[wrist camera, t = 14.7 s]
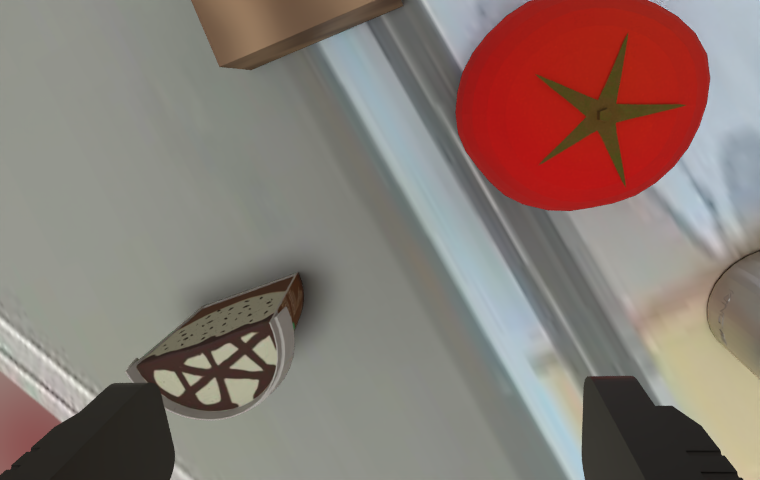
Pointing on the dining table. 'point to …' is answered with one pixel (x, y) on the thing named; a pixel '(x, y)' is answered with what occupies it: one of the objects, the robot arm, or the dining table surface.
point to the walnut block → (278, 25)
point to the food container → (226, 353)
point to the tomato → (582, 100)
